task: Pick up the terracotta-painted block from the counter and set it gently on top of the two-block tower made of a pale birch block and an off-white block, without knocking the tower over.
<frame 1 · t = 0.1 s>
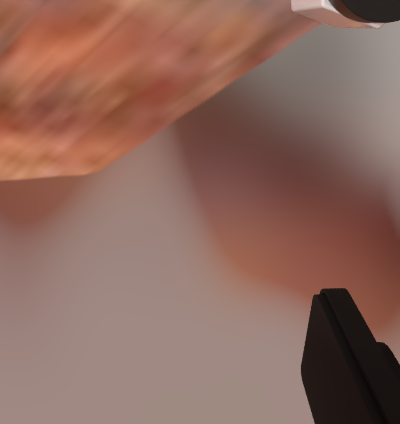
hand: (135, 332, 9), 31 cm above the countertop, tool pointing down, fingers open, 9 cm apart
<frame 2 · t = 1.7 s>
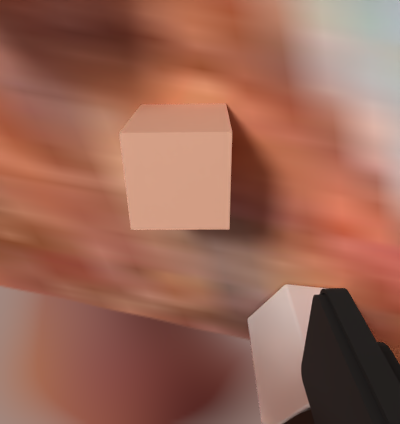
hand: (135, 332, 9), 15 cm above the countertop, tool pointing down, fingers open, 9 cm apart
top block: (184, 144, 22), on the countertop
jar: (300, 320, 29), on the countertop
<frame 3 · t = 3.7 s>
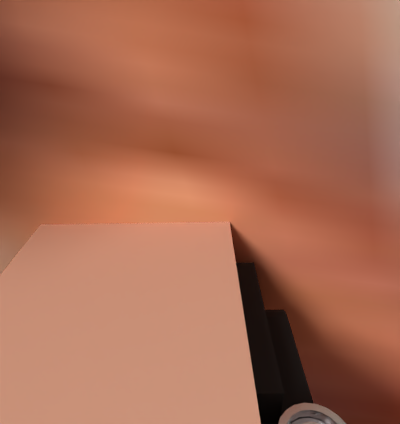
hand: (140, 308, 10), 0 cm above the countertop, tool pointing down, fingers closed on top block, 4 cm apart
top block: (143, 296, 11), on the countertop, touching gripper
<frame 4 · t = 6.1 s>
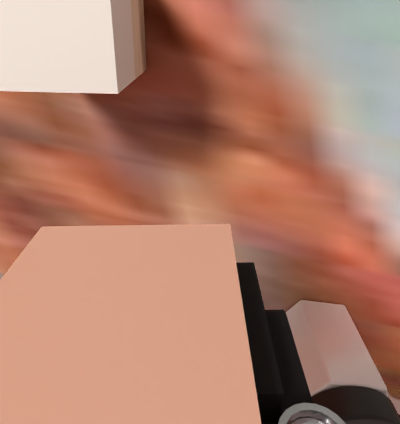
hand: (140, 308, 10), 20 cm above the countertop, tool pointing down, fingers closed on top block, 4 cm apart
top block: (144, 298, 11), point 19 cm above the countertop, touching gripper
middle block: (77, 20, 20), point 5 cm above the countertop, touching base block
jar: (310, 327, 37), on the countertop
base block: (100, 21, 24), on the countertop, touching middle block
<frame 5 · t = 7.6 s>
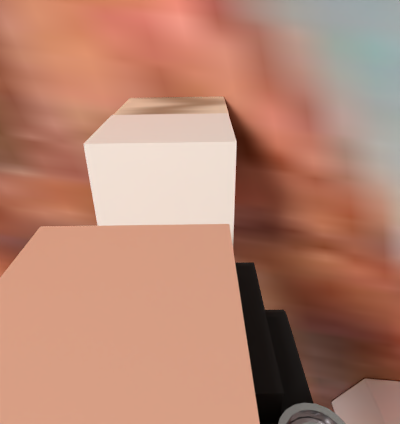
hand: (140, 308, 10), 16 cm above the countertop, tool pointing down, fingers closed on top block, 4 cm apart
top block: (143, 298, 11), point 15 cm above the countertop, touching gripper
middle block: (172, 168, 20), point 5 cm above the countertop, touching base block
jar: (372, 401, 37), on the countertop
base block: (178, 142, 24), on the countertop, touching middle block
when the fingers open (12 cm above the countertop, at t = 8.8 s): top block drops 1 cm, resting on middle block.
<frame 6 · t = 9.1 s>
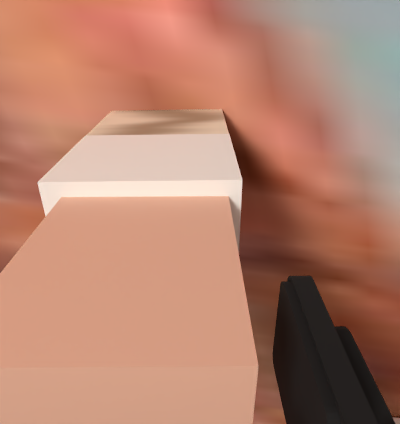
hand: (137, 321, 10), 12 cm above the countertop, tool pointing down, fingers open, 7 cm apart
top block: (150, 264, 12), point 10 cm above the countertop, touching middle block
middle block: (161, 199, 16), point 5 cm above the countertop, touching base block, top block
base block: (169, 162, 21), on the countertop, touching middle block
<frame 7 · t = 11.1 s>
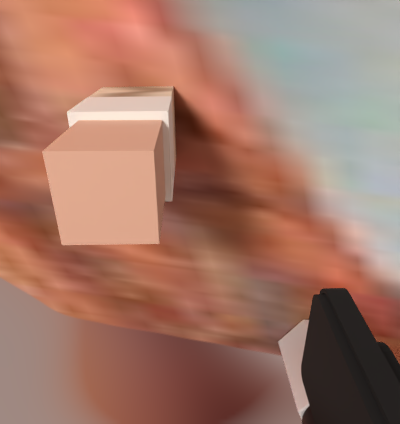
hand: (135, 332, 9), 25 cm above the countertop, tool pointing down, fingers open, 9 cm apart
top block: (124, 159, 23), point 10 cm above the countertop, touching middle block
middle block: (133, 137, 27), point 5 cm above the countertop, touching base block, top block
jar: (312, 341, 45), on the countertop
base block: (141, 122, 31), on the countertop, touching middle block
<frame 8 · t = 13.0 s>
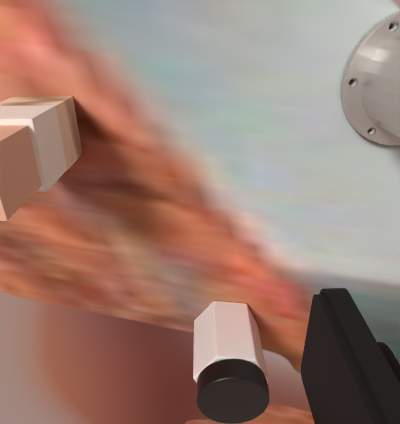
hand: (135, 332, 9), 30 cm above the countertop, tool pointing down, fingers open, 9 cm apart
top block: (3, 156, 28), point 10 cm above the countertop, touching middle block
middle block: (29, 139, 33), point 5 cm above the countertop, touching base block, top block
jar: (225, 321, 50), on the countertop
base block: (49, 126, 37), on the countertop, touching middle block
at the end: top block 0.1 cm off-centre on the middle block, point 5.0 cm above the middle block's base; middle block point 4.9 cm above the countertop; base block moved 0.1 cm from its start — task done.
